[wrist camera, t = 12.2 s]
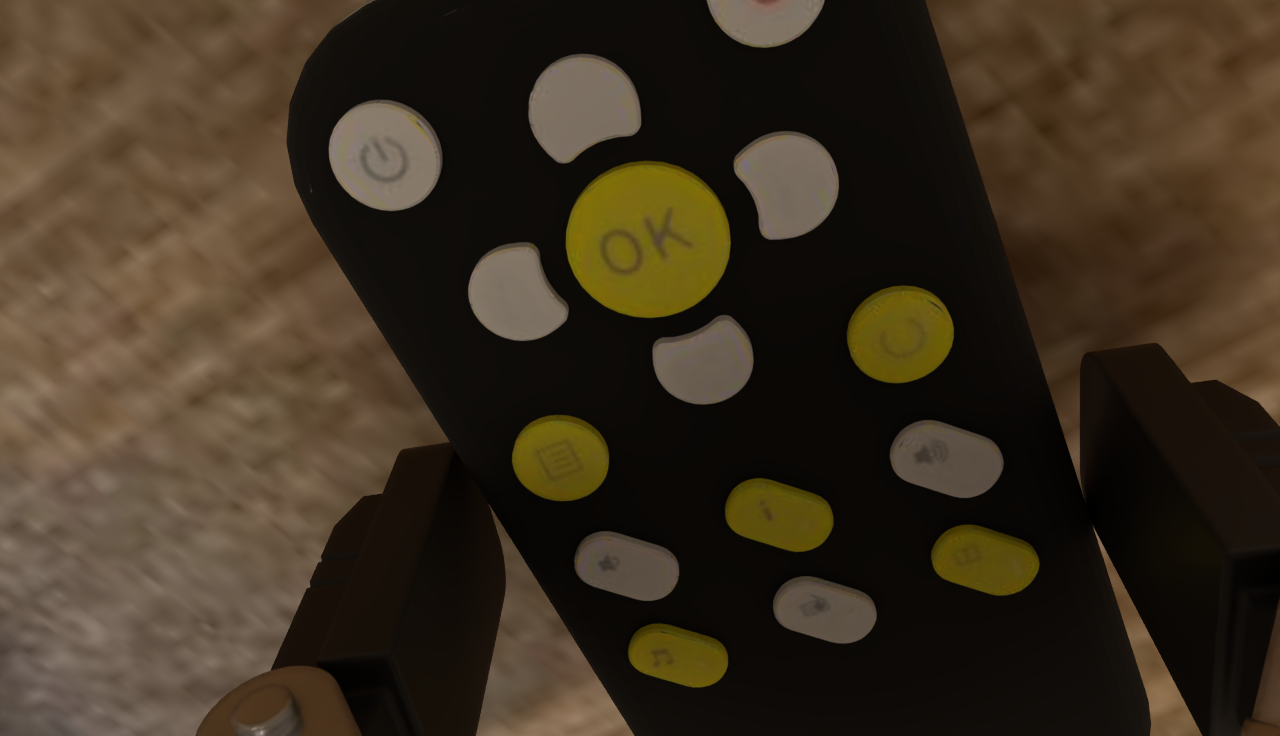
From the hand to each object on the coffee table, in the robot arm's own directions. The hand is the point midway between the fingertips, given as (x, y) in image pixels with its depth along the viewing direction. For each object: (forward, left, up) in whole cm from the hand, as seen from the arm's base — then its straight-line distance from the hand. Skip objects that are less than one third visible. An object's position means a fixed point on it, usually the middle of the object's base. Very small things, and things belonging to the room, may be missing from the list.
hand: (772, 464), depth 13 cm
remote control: (0, 0, -1) cm, 1 cm away
